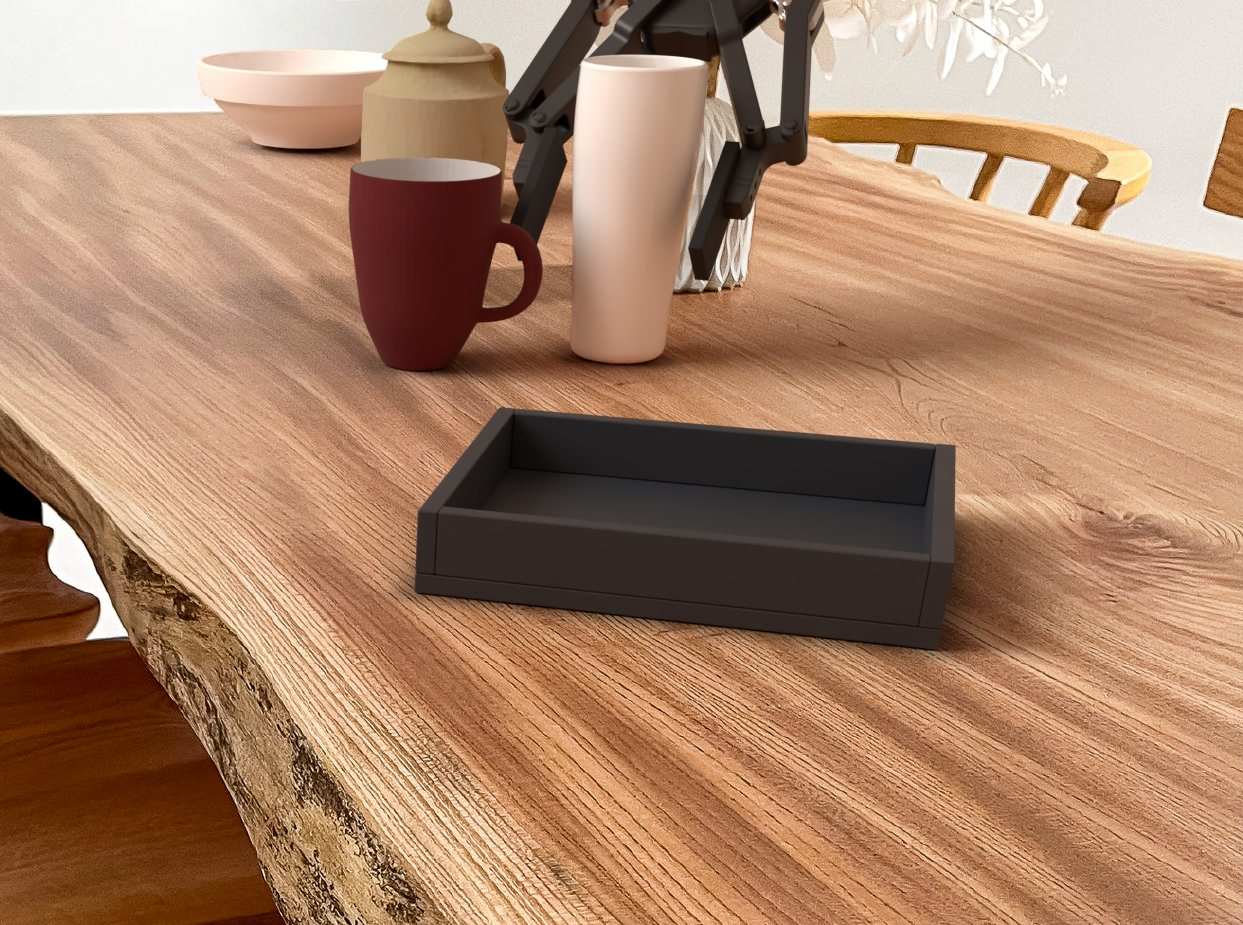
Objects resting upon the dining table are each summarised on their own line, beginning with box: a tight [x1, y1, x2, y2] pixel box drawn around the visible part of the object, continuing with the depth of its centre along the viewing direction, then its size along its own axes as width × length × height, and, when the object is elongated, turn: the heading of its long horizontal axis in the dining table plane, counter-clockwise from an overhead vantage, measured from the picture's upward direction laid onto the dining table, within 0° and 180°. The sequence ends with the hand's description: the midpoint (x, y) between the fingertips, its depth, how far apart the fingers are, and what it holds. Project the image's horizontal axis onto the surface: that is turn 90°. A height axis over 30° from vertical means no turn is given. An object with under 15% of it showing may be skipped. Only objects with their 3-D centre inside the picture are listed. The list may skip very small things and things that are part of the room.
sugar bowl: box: [360, 0, 510, 209], centre depth 144 cm, size 15×11×15 cm
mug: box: [348, 158, 544, 371], centre depth 102 cm, size 11×8×10 cm
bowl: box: [196, 48, 388, 149], centre depth 172 cm, size 20×20×7 cm
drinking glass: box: [569, 55, 709, 365], centre depth 103 cm, size 7×7×15 cm
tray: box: [413, 406, 957, 650], centre depth 77 cm, size 20×16×3 cm
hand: (606, 255), depth 101 cm, fingers open, 9 cm apart
